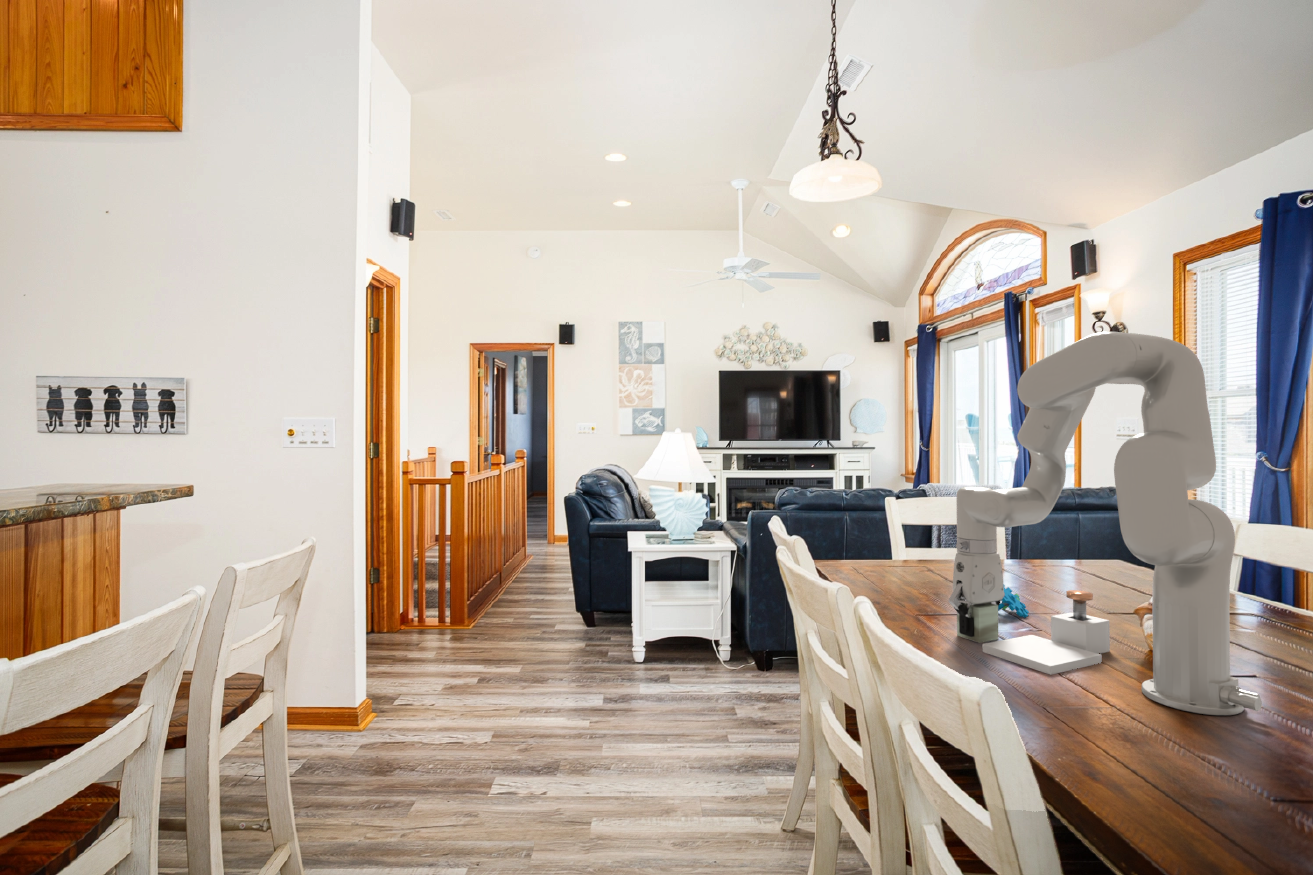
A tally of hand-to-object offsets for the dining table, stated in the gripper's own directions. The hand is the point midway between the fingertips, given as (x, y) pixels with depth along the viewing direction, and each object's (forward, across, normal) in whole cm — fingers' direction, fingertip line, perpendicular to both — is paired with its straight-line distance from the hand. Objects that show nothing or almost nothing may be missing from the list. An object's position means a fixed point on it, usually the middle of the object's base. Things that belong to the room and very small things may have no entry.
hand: (977, 632), depth 139 cm
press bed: (+1, +4, -14) cm, 15 cm away
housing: (+1, 0, 0) cm, 1 cm away
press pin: (-4, +11, -14) cm, 19 cm away
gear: (+1, +22, +9) cm, 24 cm away
